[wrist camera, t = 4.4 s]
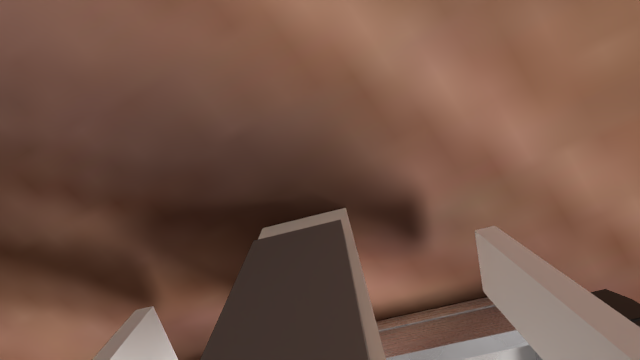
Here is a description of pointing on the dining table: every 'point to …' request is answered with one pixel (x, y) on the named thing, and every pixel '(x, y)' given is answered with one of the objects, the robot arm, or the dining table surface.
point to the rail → (454, 334)
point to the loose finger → (299, 297)
